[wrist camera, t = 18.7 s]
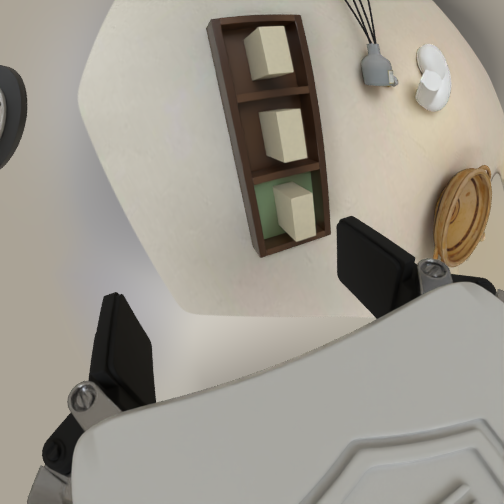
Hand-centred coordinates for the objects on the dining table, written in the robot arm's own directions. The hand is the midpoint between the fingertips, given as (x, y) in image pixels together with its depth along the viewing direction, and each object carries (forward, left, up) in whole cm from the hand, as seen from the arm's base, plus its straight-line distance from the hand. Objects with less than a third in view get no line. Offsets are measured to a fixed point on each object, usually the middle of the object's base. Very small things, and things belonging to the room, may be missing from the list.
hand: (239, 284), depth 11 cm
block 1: (+12, +12, -26) cm, 31 cm away
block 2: (+12, +2, -26) cm, 28 cm away
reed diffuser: (+30, +17, -26) cm, 43 cm away
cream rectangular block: (+12, -8, -26) cm, 29 cm away
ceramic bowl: (+55, -20, -26) cm, 64 cm away
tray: (+12, +2, -26) cm, 29 cm away
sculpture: (+46, +10, -26) cm, 54 cm away
